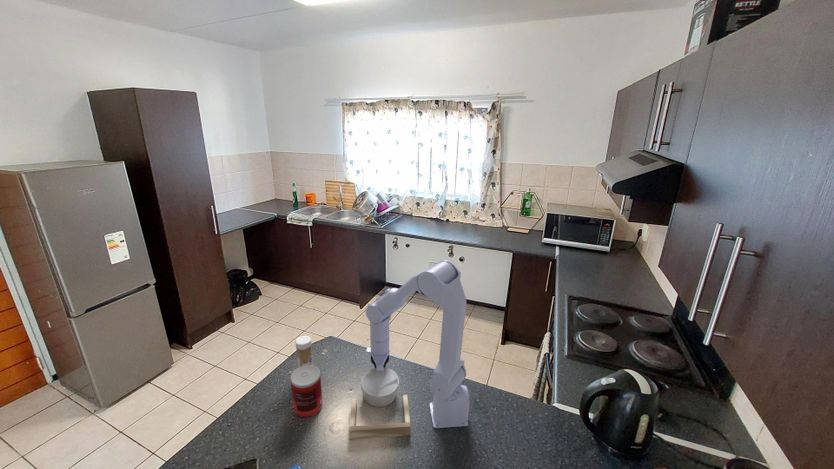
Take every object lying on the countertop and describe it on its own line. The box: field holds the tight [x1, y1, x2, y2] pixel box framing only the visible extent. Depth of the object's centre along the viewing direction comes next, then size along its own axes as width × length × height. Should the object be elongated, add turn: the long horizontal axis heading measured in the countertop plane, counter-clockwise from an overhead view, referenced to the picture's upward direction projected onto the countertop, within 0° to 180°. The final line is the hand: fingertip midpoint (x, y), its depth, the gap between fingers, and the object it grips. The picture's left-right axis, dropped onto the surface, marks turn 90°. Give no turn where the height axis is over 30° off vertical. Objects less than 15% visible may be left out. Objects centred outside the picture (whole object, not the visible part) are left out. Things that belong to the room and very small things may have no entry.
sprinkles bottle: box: [294, 335, 314, 368], centre depth 99 cm, size 5×5×14 cm
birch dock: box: [348, 394, 411, 441], centre depth 86 cm, size 10×15×3 cm, turn 96°
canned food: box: [290, 364, 323, 418], centre depth 88 cm, size 8×8×11 cm
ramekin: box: [360, 367, 400, 408], centre depth 94 cm, size 11×11×5 cm
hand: (380, 373), depth 101 cm, fingers closed
